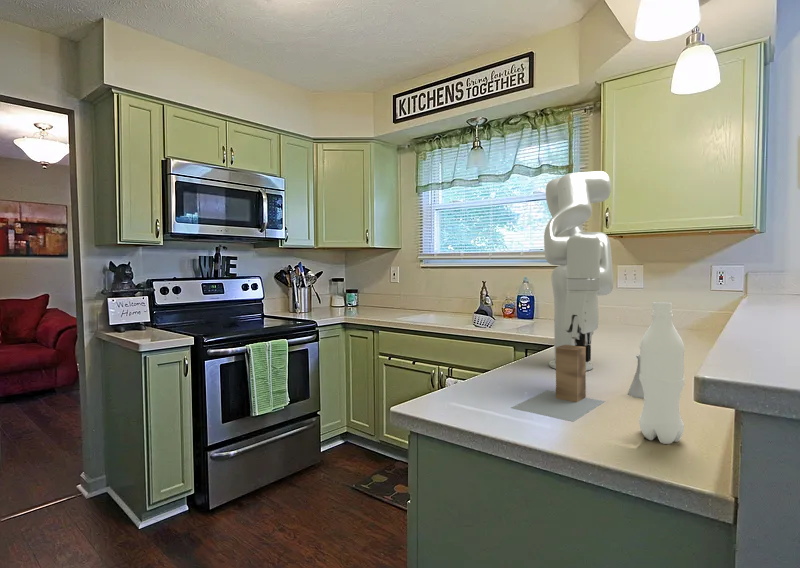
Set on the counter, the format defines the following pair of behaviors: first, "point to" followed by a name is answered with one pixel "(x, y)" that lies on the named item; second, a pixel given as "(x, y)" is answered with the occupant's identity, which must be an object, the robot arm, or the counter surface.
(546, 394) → the mat
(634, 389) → the flask
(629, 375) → the counter surface
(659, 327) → the water bottle
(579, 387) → the cardboard box
